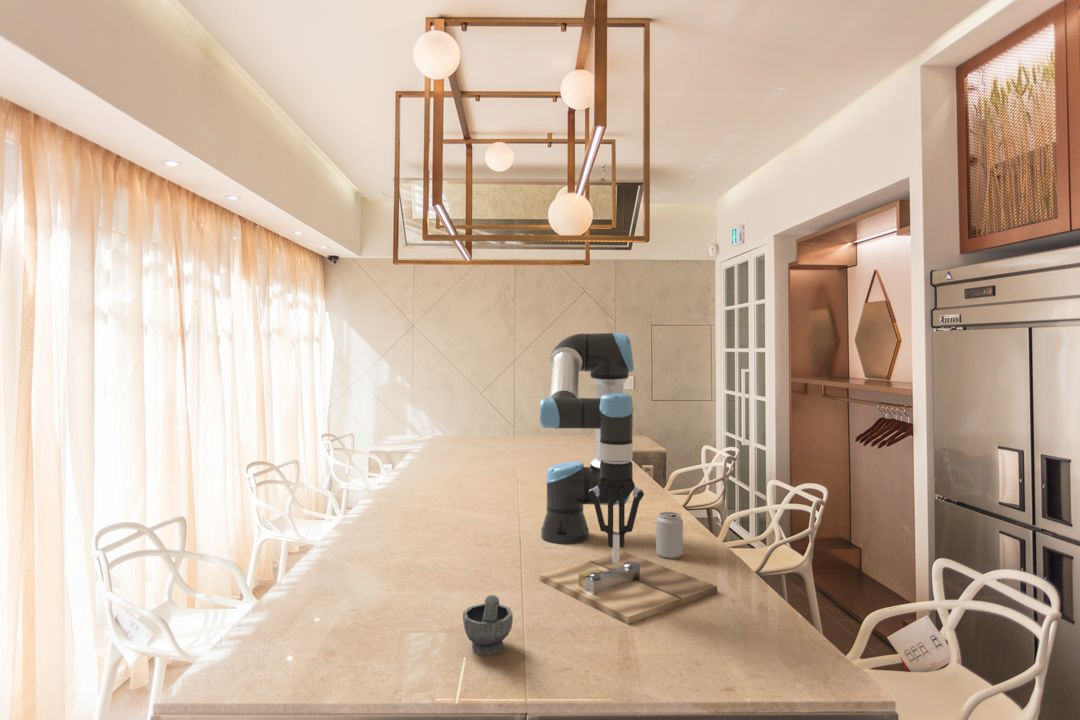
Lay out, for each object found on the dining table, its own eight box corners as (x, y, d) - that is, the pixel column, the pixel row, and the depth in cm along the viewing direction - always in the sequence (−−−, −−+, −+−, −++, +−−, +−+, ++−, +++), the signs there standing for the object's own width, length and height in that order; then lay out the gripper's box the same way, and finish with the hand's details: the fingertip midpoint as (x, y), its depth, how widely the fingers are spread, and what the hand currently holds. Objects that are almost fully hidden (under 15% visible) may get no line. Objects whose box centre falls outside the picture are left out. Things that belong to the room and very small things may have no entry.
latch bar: (631, 574, 158) (631, 558, 158) (643, 578, 155) (643, 562, 155) (583, 590, 147) (583, 573, 147) (595, 595, 144) (595, 578, 144)
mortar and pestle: (460, 639, 125) (460, 580, 125) (506, 634, 128) (506, 576, 128) (468, 666, 114) (468, 602, 114) (517, 660, 117) (517, 597, 117)
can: (683, 560, 174) (683, 517, 174) (656, 558, 175) (656, 516, 175) (682, 552, 181) (682, 511, 181) (656, 550, 183) (656, 510, 182)
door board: (539, 580, 158) (539, 562, 158) (624, 557, 176) (624, 541, 176) (627, 624, 132) (627, 603, 132) (717, 592, 150) (717, 573, 150)
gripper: (643, 457, 147) (642, 555, 148) (588, 456, 148) (588, 554, 149) (646, 464, 139) (645, 567, 140) (587, 463, 140) (587, 565, 141)
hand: (615, 560), depth 144 cm, fingers closed
